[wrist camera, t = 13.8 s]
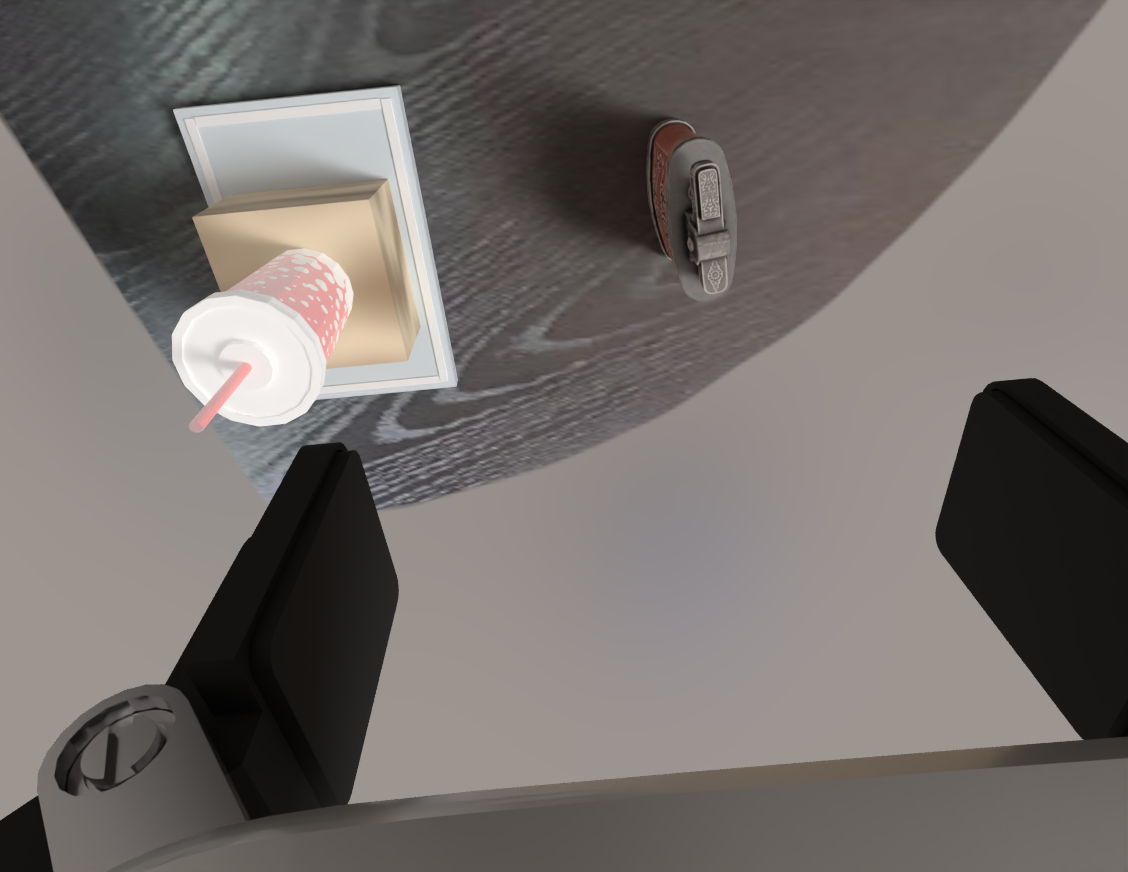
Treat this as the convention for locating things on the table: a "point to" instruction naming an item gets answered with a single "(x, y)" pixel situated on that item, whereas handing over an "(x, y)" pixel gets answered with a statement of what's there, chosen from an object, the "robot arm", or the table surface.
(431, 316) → the white tray
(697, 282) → the lighter
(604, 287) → the table surface
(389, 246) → the maple block
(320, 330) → the beverage cup
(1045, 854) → the robot arm
